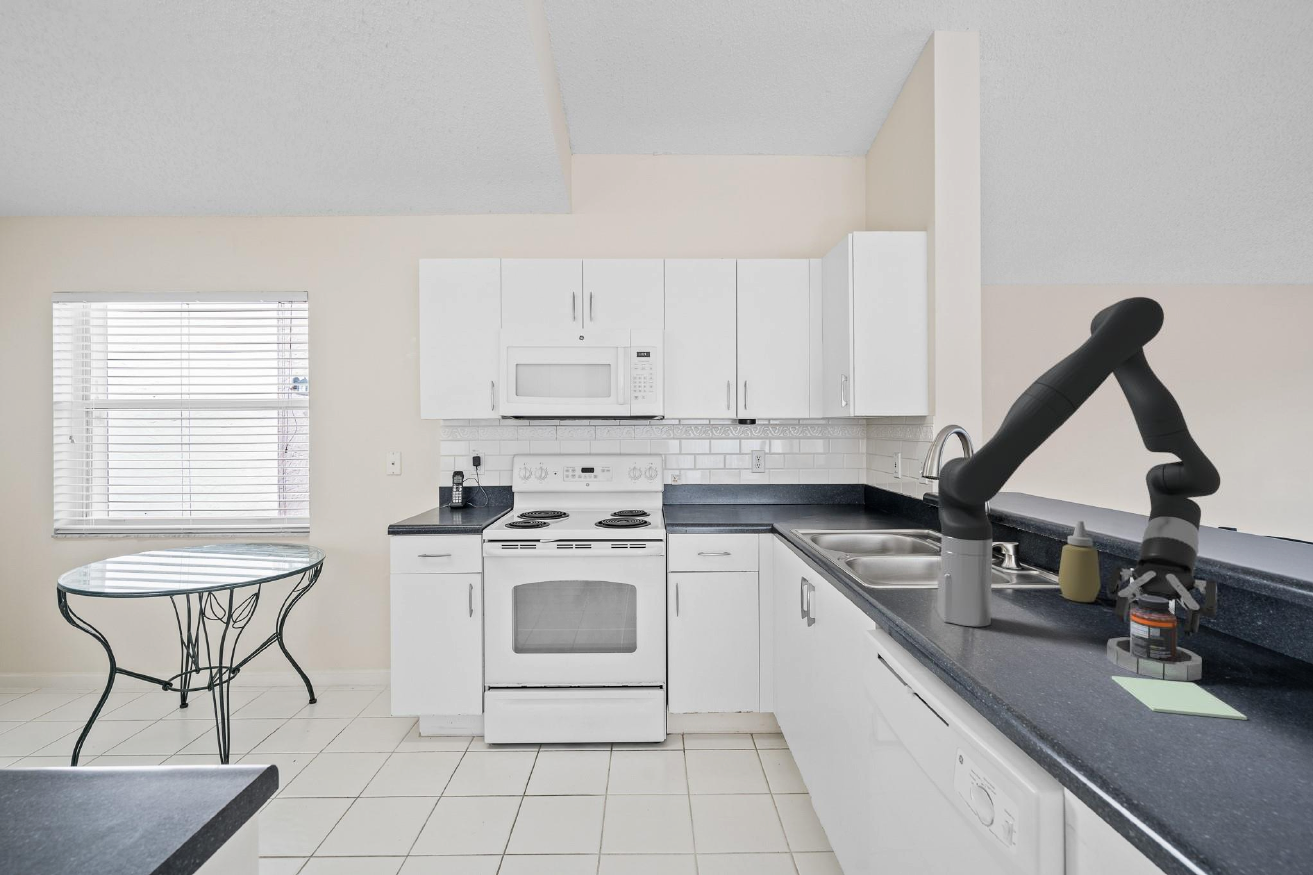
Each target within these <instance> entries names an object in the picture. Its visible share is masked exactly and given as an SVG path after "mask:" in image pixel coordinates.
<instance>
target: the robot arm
mask: <svg viewBox="0 0 1313 875" xmlns="http://www.w3.org/2000/svg"><path fill="white" fill-rule="evenodd" d="M1164 320H1165V313H1164V309H1163V308H1162V305H1161V304H1160V303H1159V302H1158V301H1156V300H1154V299H1153V298H1150V297H1145V296H1135V297H1129V298H1125V299H1122V300H1119V301H1118V302H1116V303H1113V304H1112V305H1109V306H1108V307H1105V308H1103V309H1101V310H1100V311H1099V312H1098V313H1097V314H1096V315H1094V317H1093V318H1092V320H1091V323H1090V328H1089V330H1090V334H1091V335H1090V336H1089V338H1088V339H1087V340H1086V341H1085V342H1083V343H1082V345H1080V347H1078V348H1077V349H1075V350H1074V351H1073V352H1072V353H1070V354H1069V355H1067V356H1066V357H1064V358H1063V359H1062V360H1060V361H1059V362H1057V363H1055V365H1053V366H1052V367H1050V368H1049V369H1047V371H1045V372H1044V373H1043V374H1042V375H1040V376H1039V377H1037V379H1035V380H1034V381H1033V382H1032V383H1031V384H1030V385H1029V387H1027V388H1026V389H1025V390H1024V391H1023V392H1022V393H1021V395H1019V397H1018V398H1017V399H1016V400H1015V401H1014V402H1013V404H1012V405H1011V406H1010V408H1009V410H1008V411H1007V414H1006V415H1005V417H1004V419H1003V421H1002V423H1001V425H1000V426H999V428H998V430H997V431H996V432H995V434H994V435H993V437H991V439H989V441H987V442H986V443H985V444H984V445H983V446H982V447H981V448H980V449H979V450H977V451H976V452H975V453H974V454H972V455H970V456H969V457H966V456H965V457H962V456H961V457H956V458H955V457H954V458H951V459H950V460H948V461H947V462H946V463H945V464H944V465H943V466H942V467H941V469H940V472H939V476H938V485H937V486H938V487H937V489H938V490H937V491H938V492H937V500H938V503H937V504H938V518H939V522H940V525H941V548H940V549H941V550H940V552H941V556H940V560H941V561H940V568H938V570H937V614H938V616H939V617H940V618H941V620H942V621H943V622H944V623H951V624H955V625H960V626H965V627H966V626H967V627H977V628H978V627H987V626H989V625H991V624H992V623H991V621H992V620H991V619H992V578H993V577H992V570H993V568H992V565H993V525H992V523H991V521H990V520H989V517H988V514H987V511H986V510H987V507H986V503H987V502H989V501H990V500H992V499H993V498H994V497H996V495H998V493H999V492H1000V491H1001V489H1002V488H1003V487H1004V486H1005V484H1006V483H1007V482H1008V481H1009V479H1010V478H1011V477H1012V476H1013V475H1014V473H1015V472H1016V470H1018V468H1019V467H1020V466H1021V465H1022V464H1023V463H1024V461H1026V459H1027V458H1028V457H1029V456H1030V455H1032V454H1033V452H1034V453H1035V451H1036V450H1037V449H1038V448H1040V446H1042V445H1043V444H1044V443H1045V442H1046V441H1047V440H1048V439H1049V438H1050V437H1051V436H1052V435H1053V434H1054V433H1055V432H1056V431H1057V430H1058V429H1060V428H1061V427H1062V426H1063V425H1064V424H1065V423H1066V422H1067V421H1068V420H1069V419H1070V418H1071V417H1072V416H1073V415H1074V414H1075V413H1077V411H1078V410H1079V409H1080V408H1081V406H1083V404H1084V403H1085V402H1086V401H1087V400H1088V399H1089V398H1090V397H1091V396H1092V395H1093V394H1094V393H1095V392H1096V391H1097V390H1098V388H1100V387H1101V385H1103V383H1104V382H1105V381H1106V380H1107V379H1108V378H1109V376H1111V374H1113V376H1114V377H1115V379H1116V382H1117V383H1118V385H1119V387H1120V389H1121V391H1122V393H1123V395H1124V397H1125V399H1126V401H1127V403H1128V406H1129V407H1130V411H1131V413H1132V416H1133V417H1134V421H1135V424H1136V426H1137V429H1138V431H1139V434H1140V438H1142V439H1141V440H1142V442H1143V445H1144V447H1145V449H1146V450H1147V451H1148V452H1150V453H1159V454H1160V453H1162V454H1163V453H1164V454H1165V453H1166V454H1167V453H1168V454H1173V455H1174V456H1175V457H1177V458H1178V459H1179V461H1174V462H1173V461H1172V462H1166V463H1160V464H1157V465H1155V466H1152V467H1151V468H1150V469H1148V472H1147V473H1146V475H1145V482H1146V486H1147V491H1148V494H1149V500H1150V501H1149V502H1150V512H1149V517H1148V523H1147V526H1146V528H1145V530H1144V532H1143V536H1142V541H1141V546H1140V549H1139V550H1140V551H1139V555H1138V560H1137V565H1136V567H1135V568H1134V569H1133V570H1131V569H1128V568H1123V567H1122V565H1120V564H1114V565H1113V567H1112V569H1111V573H1110V577H1109V579H1108V581H1107V585H1106V588H1105V589H1106V594H1107V595H1108V598H1109V599H1110V600H1116V603H1115V604H1116V605H1115V608H1114V609H1115V610H1114V612H1115V616H1116V618H1117V619H1119V622H1121V623H1126V622H1127V618H1128V614H1129V613H1128V612H1129V608H1130V603H1131V602H1132V603H1133V601H1135V600H1137V601H1138V597H1139V596H1141V595H1150V596H1157V597H1161V598H1165V599H1167V600H1169V602H1173V600H1174V601H1175V600H1177V601H1178V603H1179V604H1180V605H1181V607H1183V608H1184V609H1185V610H1186V615H1185V621H1184V629H1183V630H1184V635H1185V636H1188V637H1192V634H1195V635H1196V634H1197V633H1198V631H1199V626H1200V619H1201V618H1202V617H1209V618H1215V617H1216V616H1217V607H1218V606H1217V605H1218V604H1217V603H1218V585H1217V580H1216V579H1215V578H1212V577H1210V578H1207V579H1206V580H1202V579H1195V578H1194V572H1195V566H1196V561H1197V555H1198V553H1199V549H1198V548H1199V532H1200V531H1199V530H1200V524H1201V518H1202V510H1201V507H1200V505H1199V504H1198V503H1197V502H1196V501H1194V500H1193V498H1201V497H1202V498H1203V497H1207V496H1212V495H1213V494H1215V493H1217V491H1219V489H1220V486H1221V475H1220V473H1219V470H1217V468H1216V466H1215V464H1213V462H1212V460H1210V459H1209V458H1208V457H1207V455H1206V454H1205V453H1204V452H1203V450H1202V449H1201V448H1200V446H1199V445H1198V444H1197V442H1196V441H1195V439H1194V438H1193V436H1192V434H1191V433H1190V430H1189V428H1188V425H1187V422H1186V419H1185V417H1184V415H1183V412H1182V409H1181V407H1180V406H1179V402H1177V400H1176V399H1175V397H1174V395H1173V394H1172V393H1171V391H1170V390H1169V389H1168V387H1167V386H1165V385H1164V383H1163V382H1162V381H1161V380H1160V379H1159V378H1158V376H1157V375H1156V373H1155V372H1154V371H1153V370H1152V368H1151V366H1150V365H1149V363H1148V360H1147V356H1146V355H1145V352H1144V348H1143V347H1144V346H1146V345H1147V344H1148V343H1150V342H1151V341H1152V340H1153V339H1154V338H1155V337H1156V336H1157V335H1158V334H1159V333H1160V331H1161V329H1162V327H1163V324H1164ZM1191 498H1192V499H1191ZM1129 578H1132V579H1133V581H1131V582H1130V583H1129V584H1128V586H1126V587H1125V588H1123V589H1120V588H1121V586H1122V584H1123V582H1124V583H1125V582H1126V581H1128V579H1129ZM1196 588H1197V589H1198V590H1199V591H1200V594H1202V595H1204V596H1205V600H1204V604H1198V603H1197V601H1196V600H1195V599H1194V598H1193V597H1192V595H1191V593H1190V592H1191V591H1194V589H1196Z"/></svg>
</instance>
